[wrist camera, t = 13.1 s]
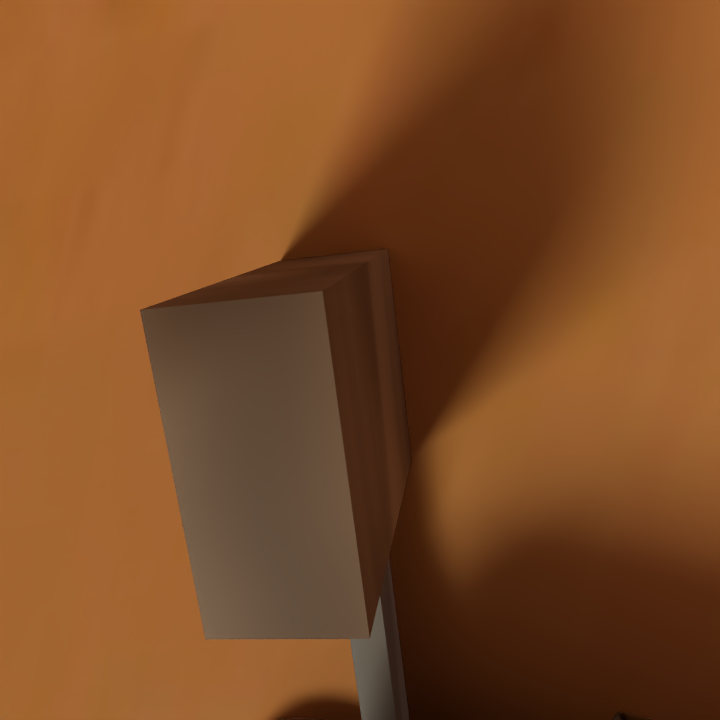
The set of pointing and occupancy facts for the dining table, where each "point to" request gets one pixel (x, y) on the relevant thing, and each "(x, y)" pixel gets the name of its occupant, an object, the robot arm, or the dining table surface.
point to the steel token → (301, 718)
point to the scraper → (291, 455)
